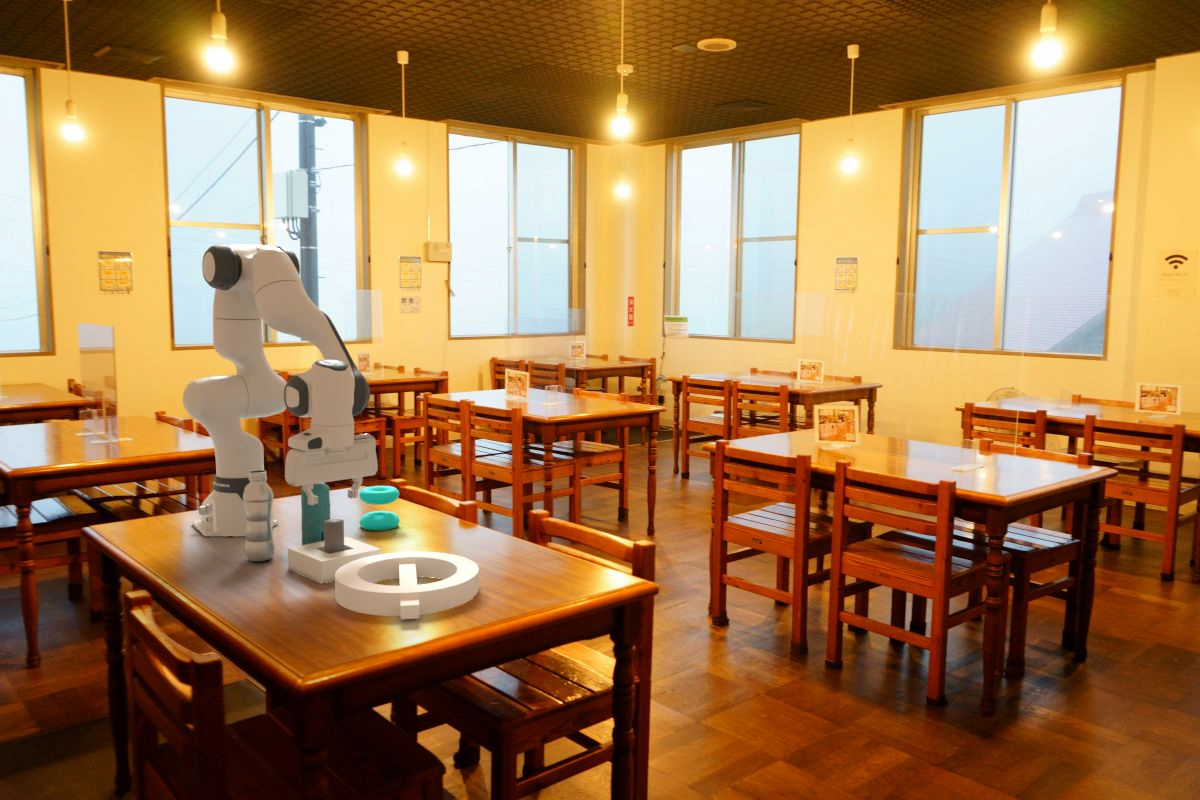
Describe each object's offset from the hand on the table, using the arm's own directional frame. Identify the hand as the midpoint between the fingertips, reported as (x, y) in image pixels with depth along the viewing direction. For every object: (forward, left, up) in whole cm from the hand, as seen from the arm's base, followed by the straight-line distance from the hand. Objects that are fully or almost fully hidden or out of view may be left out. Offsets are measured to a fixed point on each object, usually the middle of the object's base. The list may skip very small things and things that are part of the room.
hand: (333, 501), depth 194 cm
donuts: (-26, +28, -15) cm, 41 cm away
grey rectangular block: (0, 0, -14) cm, 14 cm away
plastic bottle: (-18, -8, -15) cm, 25 cm away
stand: (0, 0, -15) cm, 15 cm away
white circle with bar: (+23, +3, -16) cm, 28 cm away
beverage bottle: (-13, +3, -15) cm, 20 cm away
